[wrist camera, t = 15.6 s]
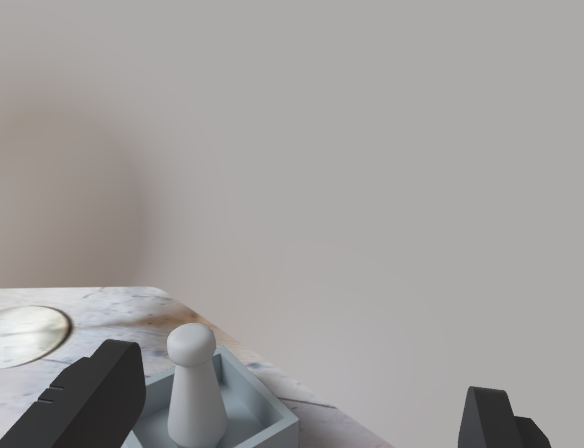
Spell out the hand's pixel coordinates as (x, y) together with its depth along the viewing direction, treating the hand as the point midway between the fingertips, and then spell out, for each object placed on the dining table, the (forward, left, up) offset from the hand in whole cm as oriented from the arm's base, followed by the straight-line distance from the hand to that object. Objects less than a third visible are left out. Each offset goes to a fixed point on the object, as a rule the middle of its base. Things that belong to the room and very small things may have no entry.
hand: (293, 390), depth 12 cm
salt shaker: (-9, -27, -31) cm, 42 cm away
